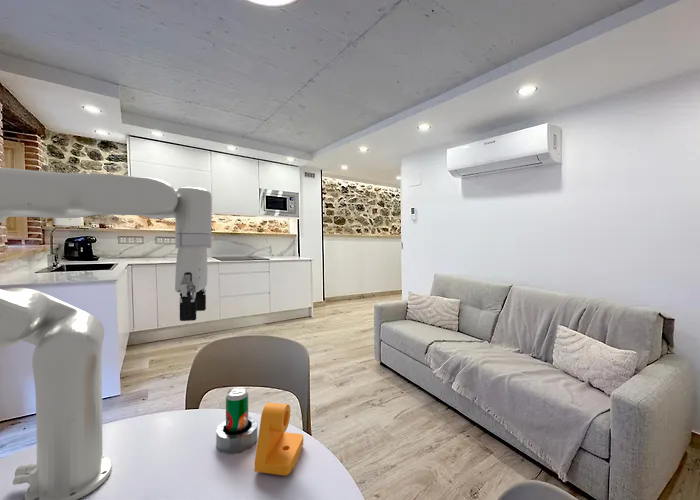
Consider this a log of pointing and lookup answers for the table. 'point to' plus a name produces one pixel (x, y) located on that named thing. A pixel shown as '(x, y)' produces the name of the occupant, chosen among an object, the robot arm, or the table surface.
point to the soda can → (237, 411)
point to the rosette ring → (236, 438)
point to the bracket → (277, 441)
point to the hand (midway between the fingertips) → (193, 315)
